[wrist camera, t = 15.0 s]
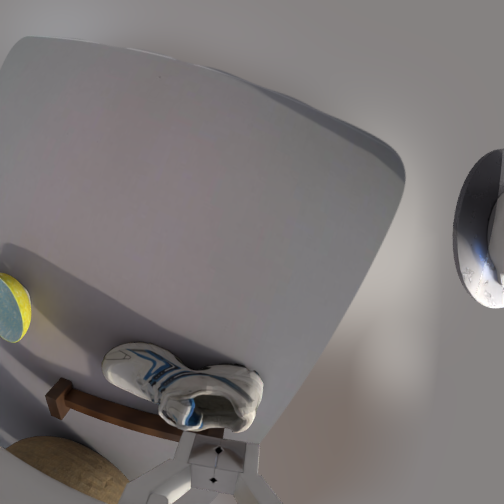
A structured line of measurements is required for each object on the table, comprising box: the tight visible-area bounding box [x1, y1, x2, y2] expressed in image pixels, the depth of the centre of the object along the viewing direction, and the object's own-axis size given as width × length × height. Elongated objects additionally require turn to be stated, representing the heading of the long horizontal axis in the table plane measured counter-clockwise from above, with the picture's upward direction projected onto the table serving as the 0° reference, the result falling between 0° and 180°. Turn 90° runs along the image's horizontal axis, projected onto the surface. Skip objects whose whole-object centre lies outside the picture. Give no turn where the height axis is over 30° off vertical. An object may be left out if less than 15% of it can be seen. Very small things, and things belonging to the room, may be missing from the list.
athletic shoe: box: [102, 342, 263, 433], centre depth 37 cm, size 10×23×12 cm, turn 89°
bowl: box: [0, 273, 31, 343], centre depth 38 cm, size 11×12×6 cm
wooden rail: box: [45, 378, 224, 442], centre depth 42 cm, size 30×5×6 cm, turn 81°
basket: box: [5, 436, 130, 504], centre depth 39 cm, size 35×35×25 cm
